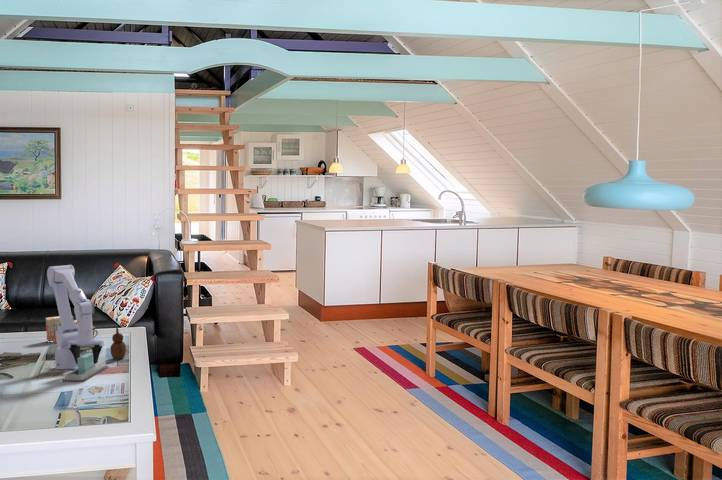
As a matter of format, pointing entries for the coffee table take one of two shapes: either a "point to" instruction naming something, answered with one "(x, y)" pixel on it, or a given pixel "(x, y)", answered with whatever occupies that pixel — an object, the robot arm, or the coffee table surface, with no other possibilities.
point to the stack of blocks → (54, 327)
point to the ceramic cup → (93, 338)
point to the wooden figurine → (118, 346)
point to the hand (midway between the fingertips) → (86, 363)
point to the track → (84, 373)
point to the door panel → (85, 362)
